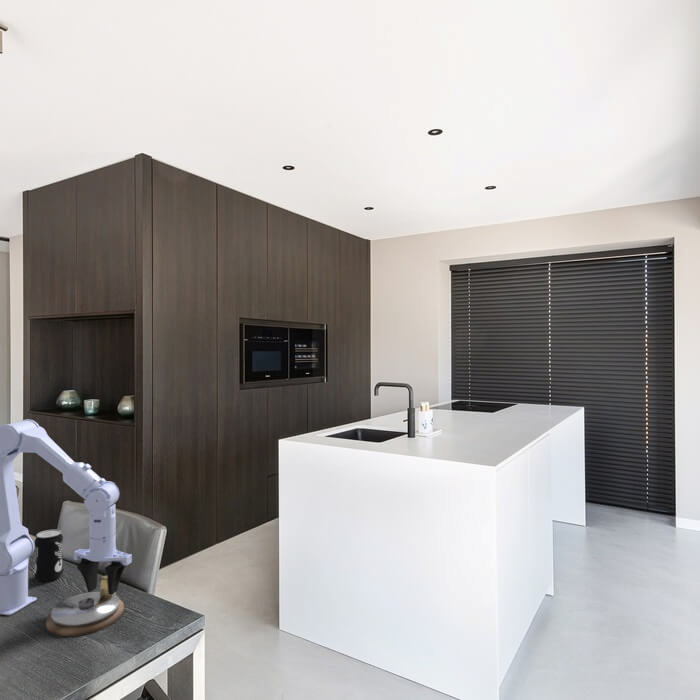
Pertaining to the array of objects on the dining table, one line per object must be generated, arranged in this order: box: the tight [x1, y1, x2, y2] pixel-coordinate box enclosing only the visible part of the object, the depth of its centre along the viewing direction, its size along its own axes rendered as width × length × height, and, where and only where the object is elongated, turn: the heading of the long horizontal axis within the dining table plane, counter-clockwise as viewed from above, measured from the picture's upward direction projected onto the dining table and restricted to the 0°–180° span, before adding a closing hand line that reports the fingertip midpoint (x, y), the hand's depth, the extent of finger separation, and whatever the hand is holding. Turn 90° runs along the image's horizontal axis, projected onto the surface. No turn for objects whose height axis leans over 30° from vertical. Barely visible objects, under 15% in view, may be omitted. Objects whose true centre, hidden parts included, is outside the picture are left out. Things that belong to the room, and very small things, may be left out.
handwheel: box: [50, 574, 120, 628], centre depth 120 cm, size 14×14×6 cm
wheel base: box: [45, 591, 125, 637], centre depth 121 cm, size 16×18×4 cm
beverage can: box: [33, 529, 64, 583], centre depth 140 cm, size 7×7×12 cm
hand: (102, 591), depth 125 cm, fingers open, 5 cm apart
